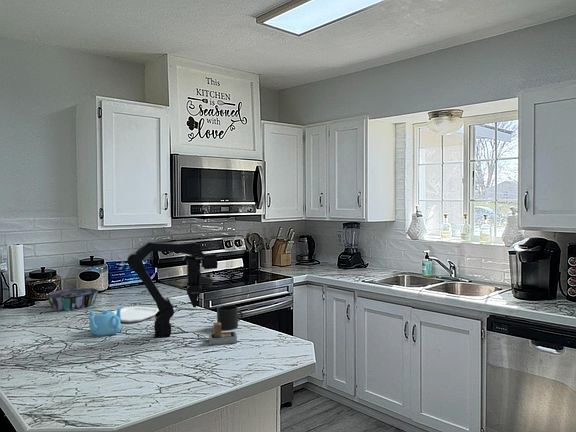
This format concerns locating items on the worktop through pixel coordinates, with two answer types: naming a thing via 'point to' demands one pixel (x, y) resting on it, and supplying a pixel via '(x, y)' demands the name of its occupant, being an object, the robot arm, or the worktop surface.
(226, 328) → the mug
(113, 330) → the teapot
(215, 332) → the tan toy chair
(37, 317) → the worktop surface
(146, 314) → the plate
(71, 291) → the decorative bowl
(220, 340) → the grey rectangular tray
